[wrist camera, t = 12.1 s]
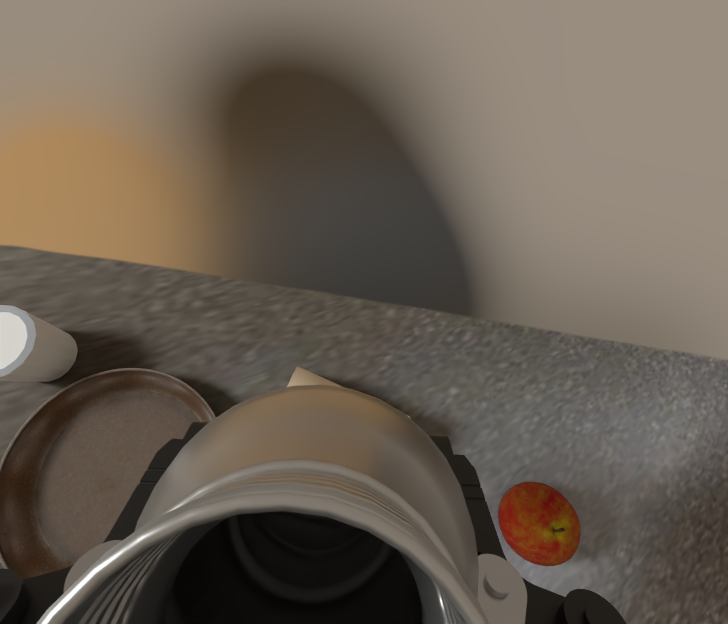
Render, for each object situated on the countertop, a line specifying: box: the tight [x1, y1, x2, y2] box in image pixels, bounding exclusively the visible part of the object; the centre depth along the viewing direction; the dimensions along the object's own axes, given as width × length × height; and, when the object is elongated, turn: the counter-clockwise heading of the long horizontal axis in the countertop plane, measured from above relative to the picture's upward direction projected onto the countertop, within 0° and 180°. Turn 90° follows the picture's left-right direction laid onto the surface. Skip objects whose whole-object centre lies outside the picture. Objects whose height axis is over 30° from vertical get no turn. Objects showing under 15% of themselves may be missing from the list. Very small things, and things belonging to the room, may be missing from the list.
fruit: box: [498, 482, 580, 566], centre depth 36 cm, size 7×7×8 cm
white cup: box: [0, 305, 78, 382], centre depth 37 cm, size 7×7×7 cm
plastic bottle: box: [37, 385, 490, 624], centre depth 12 cm, size 6×7×20 cm
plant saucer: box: [0, 368, 216, 580], centre depth 36 cm, size 21×21×3 cm
